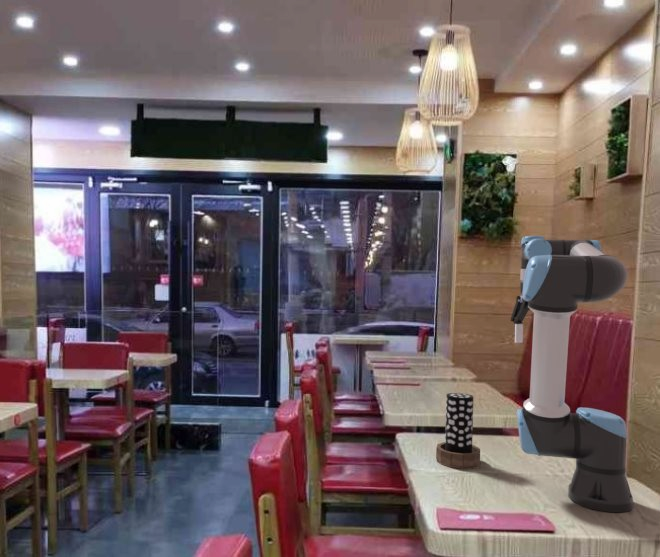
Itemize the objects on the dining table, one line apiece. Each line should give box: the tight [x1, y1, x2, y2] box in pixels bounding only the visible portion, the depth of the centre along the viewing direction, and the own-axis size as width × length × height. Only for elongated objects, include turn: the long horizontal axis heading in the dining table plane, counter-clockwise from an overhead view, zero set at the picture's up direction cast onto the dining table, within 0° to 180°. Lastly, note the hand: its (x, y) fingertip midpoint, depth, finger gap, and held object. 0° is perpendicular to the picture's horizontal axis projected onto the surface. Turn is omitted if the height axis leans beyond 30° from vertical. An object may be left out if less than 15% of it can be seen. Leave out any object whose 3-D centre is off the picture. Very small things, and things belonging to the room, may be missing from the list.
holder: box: [435, 442, 481, 470], centre depth 170 cm, size 13×13×4 cm
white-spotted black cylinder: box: [444, 392, 474, 453], centre depth 170 cm, size 8×8×20 cm
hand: (530, 344), depth 181 cm, fingers open, 13 cm apart
